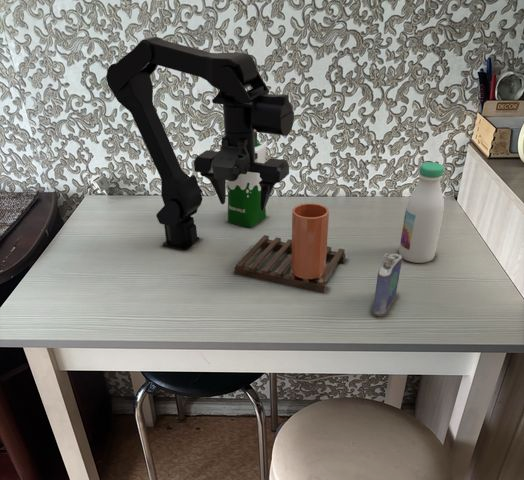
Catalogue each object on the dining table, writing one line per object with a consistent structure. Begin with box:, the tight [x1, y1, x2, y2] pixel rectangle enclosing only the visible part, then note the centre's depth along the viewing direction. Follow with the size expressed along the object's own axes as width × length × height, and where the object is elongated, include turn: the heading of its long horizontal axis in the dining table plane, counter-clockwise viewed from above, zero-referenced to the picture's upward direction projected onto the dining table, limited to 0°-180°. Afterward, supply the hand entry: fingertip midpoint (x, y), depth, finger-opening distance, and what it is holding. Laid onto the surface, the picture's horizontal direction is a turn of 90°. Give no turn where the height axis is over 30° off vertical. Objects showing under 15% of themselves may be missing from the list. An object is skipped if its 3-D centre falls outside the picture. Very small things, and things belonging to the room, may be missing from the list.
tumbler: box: [290, 202, 330, 280], centre depth 106 cm, size 7×7×13 cm
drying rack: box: [234, 234, 347, 294], centre depth 115 cm, size 20×15×2 cm
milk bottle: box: [398, 161, 445, 264], centre depth 112 cm, size 8×8×20 cm
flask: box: [372, 252, 403, 318], centre depth 100 cm, size 9×3×11 cm, turn 151°
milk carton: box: [226, 137, 267, 229], centre depth 129 cm, size 9×9×20 cm
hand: (242, 206), depth 112 cm, fingers open, 9 cm apart
